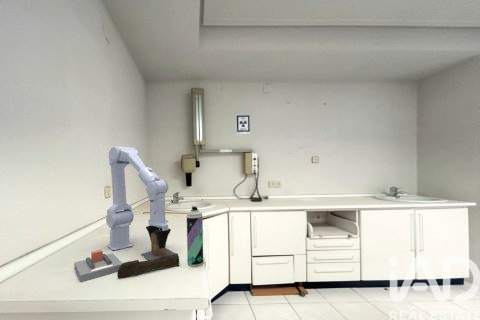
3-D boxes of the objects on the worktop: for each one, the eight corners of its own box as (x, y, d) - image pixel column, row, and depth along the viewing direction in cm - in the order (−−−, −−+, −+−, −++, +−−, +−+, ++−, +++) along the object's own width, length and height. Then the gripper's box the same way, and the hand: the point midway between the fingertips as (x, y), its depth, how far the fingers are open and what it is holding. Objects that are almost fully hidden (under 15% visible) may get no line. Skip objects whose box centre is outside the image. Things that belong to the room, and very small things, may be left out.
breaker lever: (91, 260, 81) (91, 251, 81) (101, 258, 83) (101, 249, 83) (92, 262, 79) (92, 253, 80) (102, 260, 81) (102, 251, 82)
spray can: (186, 262, 83) (185, 206, 84) (201, 259, 85) (200, 204, 86) (188, 268, 78) (187, 208, 79) (204, 265, 80) (203, 206, 81)
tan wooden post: (151, 253, 91) (151, 233, 92) (161, 251, 94) (160, 231, 94) (155, 256, 88) (155, 235, 89) (165, 253, 91) (165, 233, 91)
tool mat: (140, 254, 92) (140, 253, 92) (165, 248, 98) (165, 247, 98) (150, 262, 84) (150, 261, 84) (176, 254, 91) (176, 253, 91)
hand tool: (177, 262, 83) (177, 249, 84) (180, 266, 80) (179, 253, 80) (117, 275, 75) (117, 261, 75) (117, 281, 71) (117, 265, 71)
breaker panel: (74, 268, 81) (74, 258, 81) (112, 258, 89) (112, 250, 89) (80, 282, 70) (80, 271, 70) (123, 269, 78) (123, 260, 78)
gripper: (175, 211, 89) (176, 247, 89) (160, 207, 100) (160, 239, 99) (157, 214, 84) (157, 252, 84) (143, 209, 95) (143, 243, 95)
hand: (158, 245), depth 91 cm, fingers open, 7 cm apart
